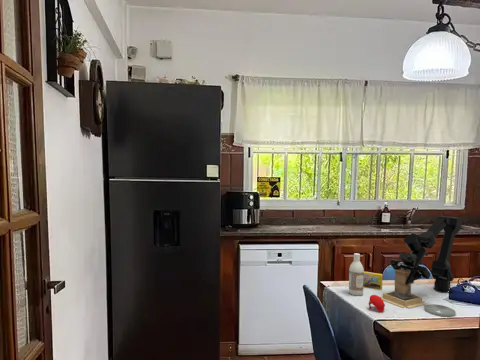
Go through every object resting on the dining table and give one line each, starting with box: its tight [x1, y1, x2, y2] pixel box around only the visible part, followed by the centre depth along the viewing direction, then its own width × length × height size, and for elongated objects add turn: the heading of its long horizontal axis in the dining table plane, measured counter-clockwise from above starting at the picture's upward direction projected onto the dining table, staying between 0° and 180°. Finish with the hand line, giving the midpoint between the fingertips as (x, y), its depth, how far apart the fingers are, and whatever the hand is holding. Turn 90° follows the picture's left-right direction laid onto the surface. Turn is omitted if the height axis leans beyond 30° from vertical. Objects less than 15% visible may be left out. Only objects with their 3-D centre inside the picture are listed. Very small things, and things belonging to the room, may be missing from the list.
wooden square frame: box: [379, 290, 427, 309], centre depth 169 cm, size 16×16×2 cm
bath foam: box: [348, 252, 365, 297], centre depth 178 cm, size 7×7×20 cm
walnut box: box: [393, 269, 412, 299], centre depth 169 cm, size 5×5×12 cm
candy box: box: [363, 270, 383, 291], centre depth 189 cm, size 16×2×8 cm, turn 58°
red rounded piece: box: [368, 294, 386, 314], centre depth 157 cm, size 8×6×6 cm
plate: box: [423, 303, 457, 318], centre depth 156 cm, size 12×12×1 cm
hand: (400, 282), depth 168 cm, fingers closed on walnut box, 5 cm apart
